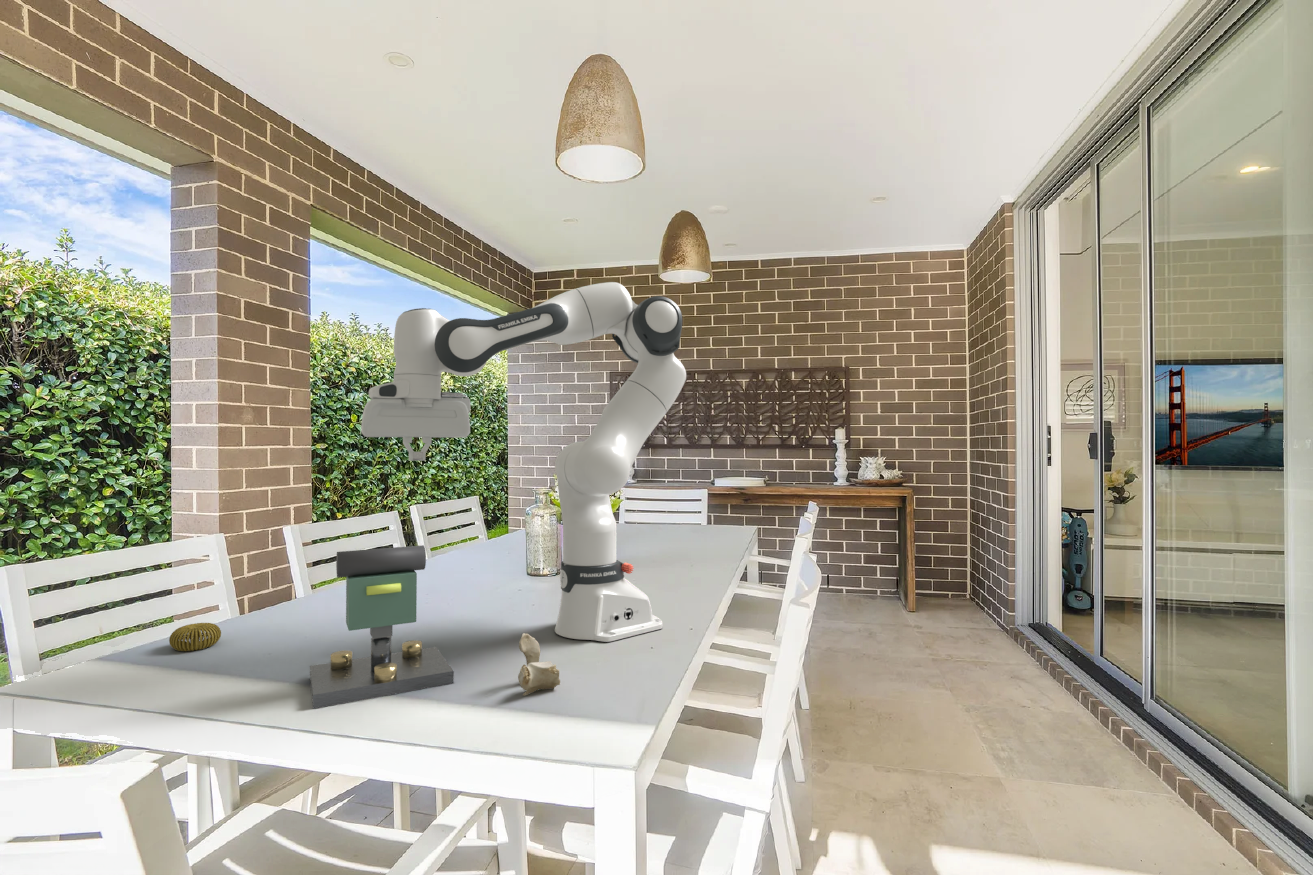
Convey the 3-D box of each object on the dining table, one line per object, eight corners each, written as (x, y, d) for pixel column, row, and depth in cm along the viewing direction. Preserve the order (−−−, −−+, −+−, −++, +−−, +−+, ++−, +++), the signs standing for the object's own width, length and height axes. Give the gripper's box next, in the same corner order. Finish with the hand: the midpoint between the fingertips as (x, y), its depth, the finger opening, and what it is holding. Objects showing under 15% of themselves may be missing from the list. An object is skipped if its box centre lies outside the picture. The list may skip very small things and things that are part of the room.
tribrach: (435, 657, 116) (436, 618, 116) (453, 683, 104) (453, 639, 104) (309, 677, 106) (310, 635, 106) (313, 708, 94) (313, 660, 94)
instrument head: (420, 624, 110) (420, 543, 110) (426, 634, 105) (427, 548, 105) (335, 635, 104) (336, 549, 104) (338, 647, 98) (338, 555, 98)
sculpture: (179, 622, 124) (227, 618, 127) (179, 642, 124) (227, 639, 127) (161, 633, 117) (212, 630, 119) (161, 656, 117) (212, 651, 119)
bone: (559, 691, 96) (527, 632, 98) (523, 712, 97) (491, 653, 98) (572, 675, 105) (542, 620, 106) (539, 694, 105) (509, 640, 106)
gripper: (466, 394, 136) (466, 459, 136) (360, 389, 125) (359, 460, 125) (474, 392, 130) (474, 460, 130) (363, 387, 120) (363, 461, 120)
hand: (417, 460), depth 128 cm, fingers closed
